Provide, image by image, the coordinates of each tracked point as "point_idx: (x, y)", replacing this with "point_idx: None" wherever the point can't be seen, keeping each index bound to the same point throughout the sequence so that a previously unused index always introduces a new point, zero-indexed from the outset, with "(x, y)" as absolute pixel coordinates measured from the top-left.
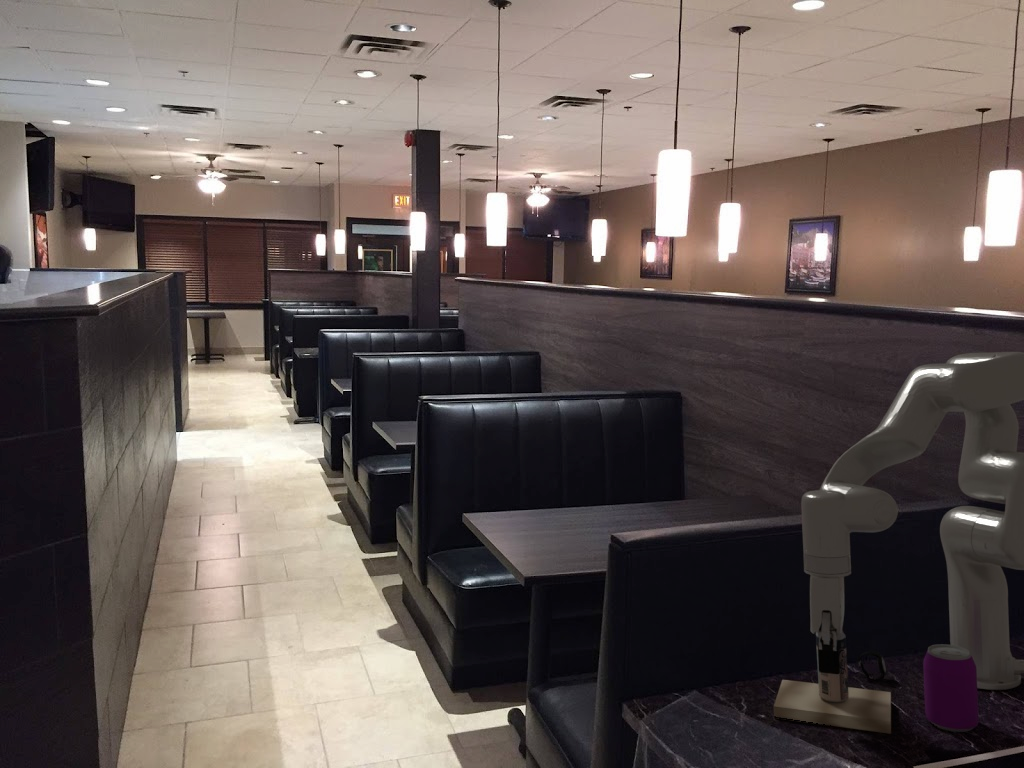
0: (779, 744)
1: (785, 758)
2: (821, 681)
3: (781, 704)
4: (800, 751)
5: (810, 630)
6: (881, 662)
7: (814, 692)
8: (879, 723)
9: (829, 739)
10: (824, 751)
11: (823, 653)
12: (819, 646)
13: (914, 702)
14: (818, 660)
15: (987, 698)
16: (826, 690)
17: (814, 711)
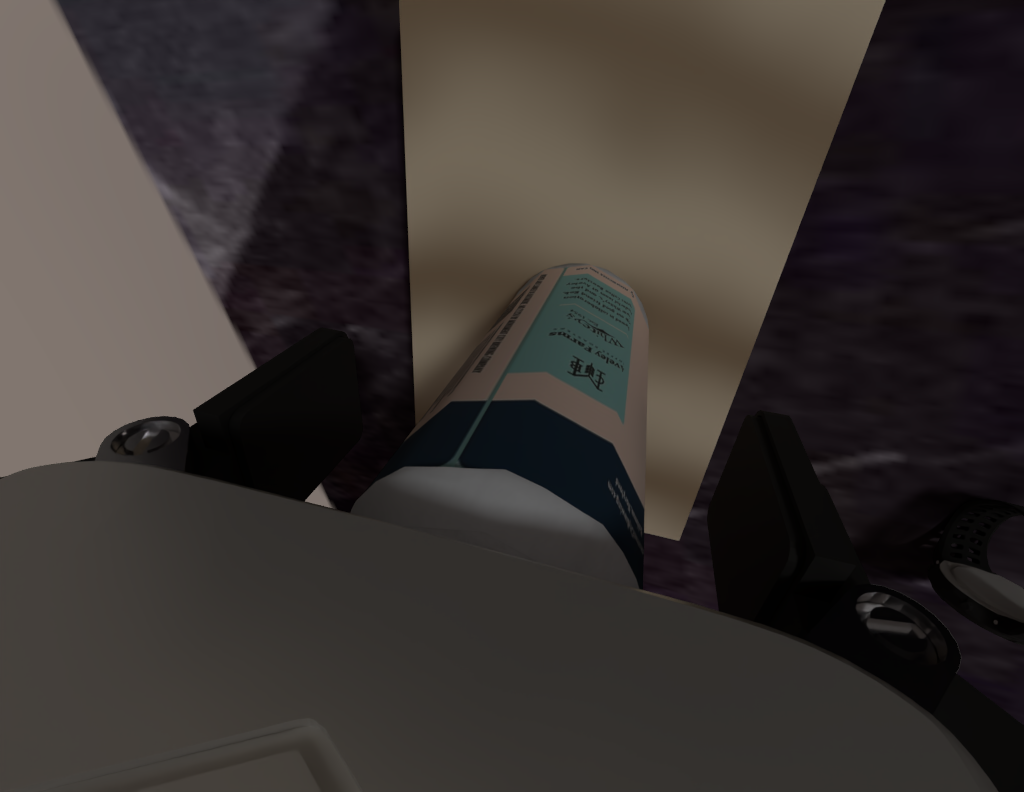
0: (189, 51)
1: (107, 87)
2: (515, 305)
3: (437, 32)
4: (185, 149)
5: (29, 469)
6: (963, 613)
7: (645, 238)
8: None
9: (321, 263)
10: (231, 239)
11: (194, 429)
12: (114, 439)
13: (694, 569)
14: (274, 359)
15: None
16: (502, 313)
17: (408, 226)
